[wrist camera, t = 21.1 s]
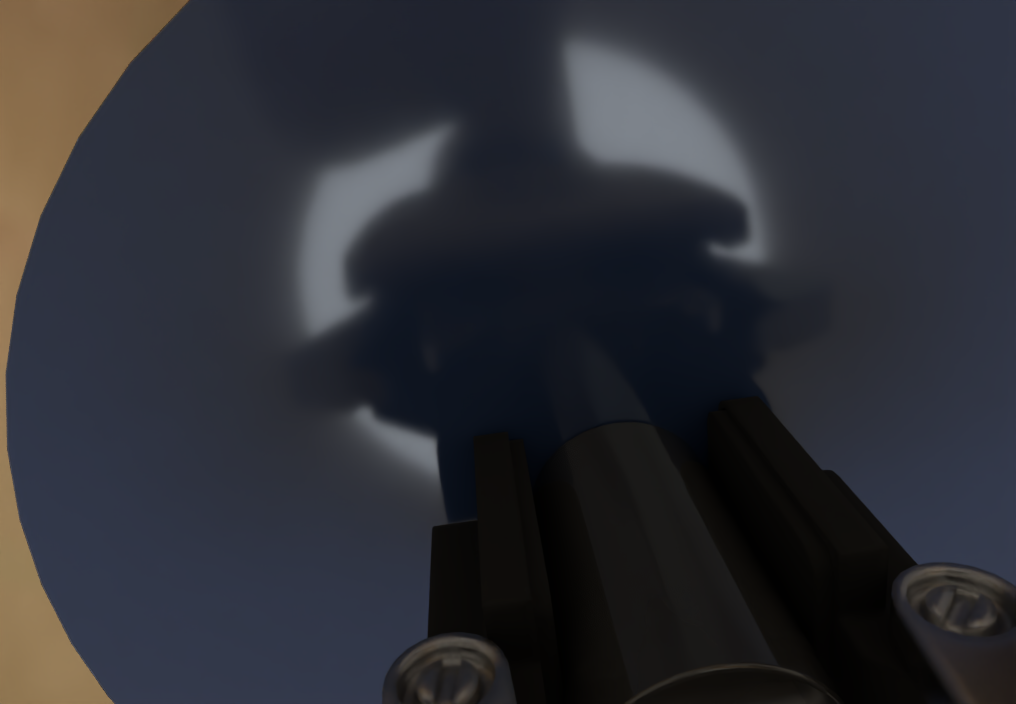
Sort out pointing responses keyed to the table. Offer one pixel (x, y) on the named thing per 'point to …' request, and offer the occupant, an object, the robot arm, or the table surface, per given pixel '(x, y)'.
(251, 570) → the lid
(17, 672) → the table surface
